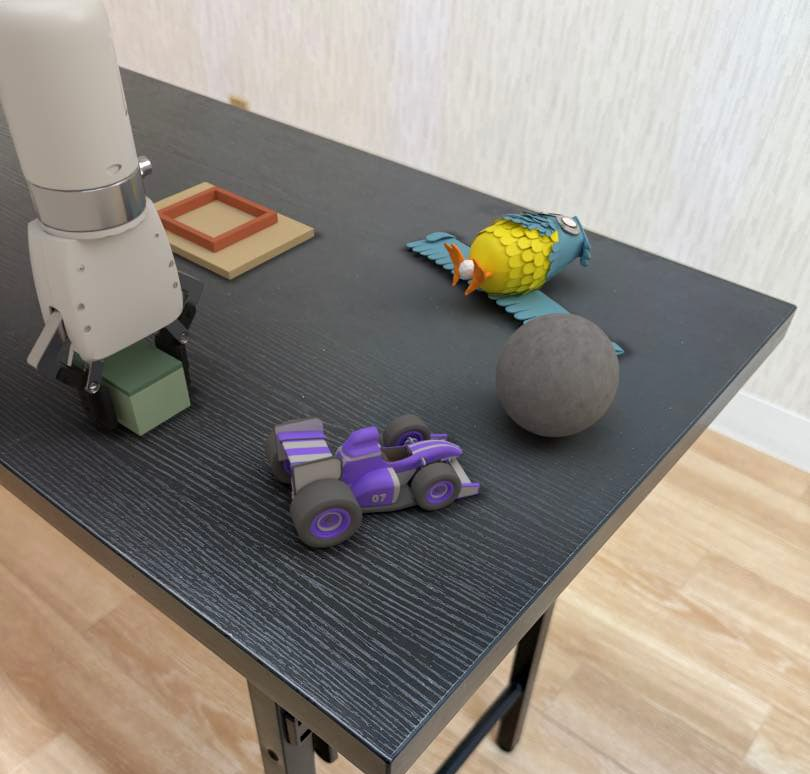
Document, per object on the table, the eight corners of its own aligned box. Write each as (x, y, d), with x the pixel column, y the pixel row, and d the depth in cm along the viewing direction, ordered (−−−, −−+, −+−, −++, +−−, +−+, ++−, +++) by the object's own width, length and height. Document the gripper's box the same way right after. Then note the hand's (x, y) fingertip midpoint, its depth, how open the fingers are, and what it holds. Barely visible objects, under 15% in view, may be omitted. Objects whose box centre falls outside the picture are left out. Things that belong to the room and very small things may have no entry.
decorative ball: (466, 412, 70) (477, 311, 63) (550, 376, 75) (570, 277, 67) (542, 477, 65) (564, 375, 58) (628, 434, 69) (659, 334, 62)
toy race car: (486, 507, 63) (496, 443, 58) (300, 556, 58) (294, 491, 54) (438, 432, 68) (444, 368, 64) (266, 472, 64) (258, 407, 60)
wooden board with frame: (120, 226, 92) (115, 207, 90) (206, 189, 99) (203, 171, 97) (229, 280, 84) (227, 260, 83) (314, 236, 91) (313, 217, 90)
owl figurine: (379, 176, 82) (493, 149, 89) (377, 256, 89) (483, 225, 95) (568, 298, 67) (688, 255, 74) (549, 385, 73) (661, 338, 80)
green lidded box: (95, 407, 69) (81, 363, 66) (146, 378, 72) (135, 335, 69) (140, 436, 67) (128, 392, 64) (191, 405, 70) (182, 362, 67)
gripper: (152, 143, 62) (189, 341, 75) (-58, 220, 53) (27, 431, 66) (218, 171, 59) (246, 372, 72) (9, 258, 50) (83, 471, 63)
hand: (141, 398), depth 69 cm, fingers open, 7 cm apart
